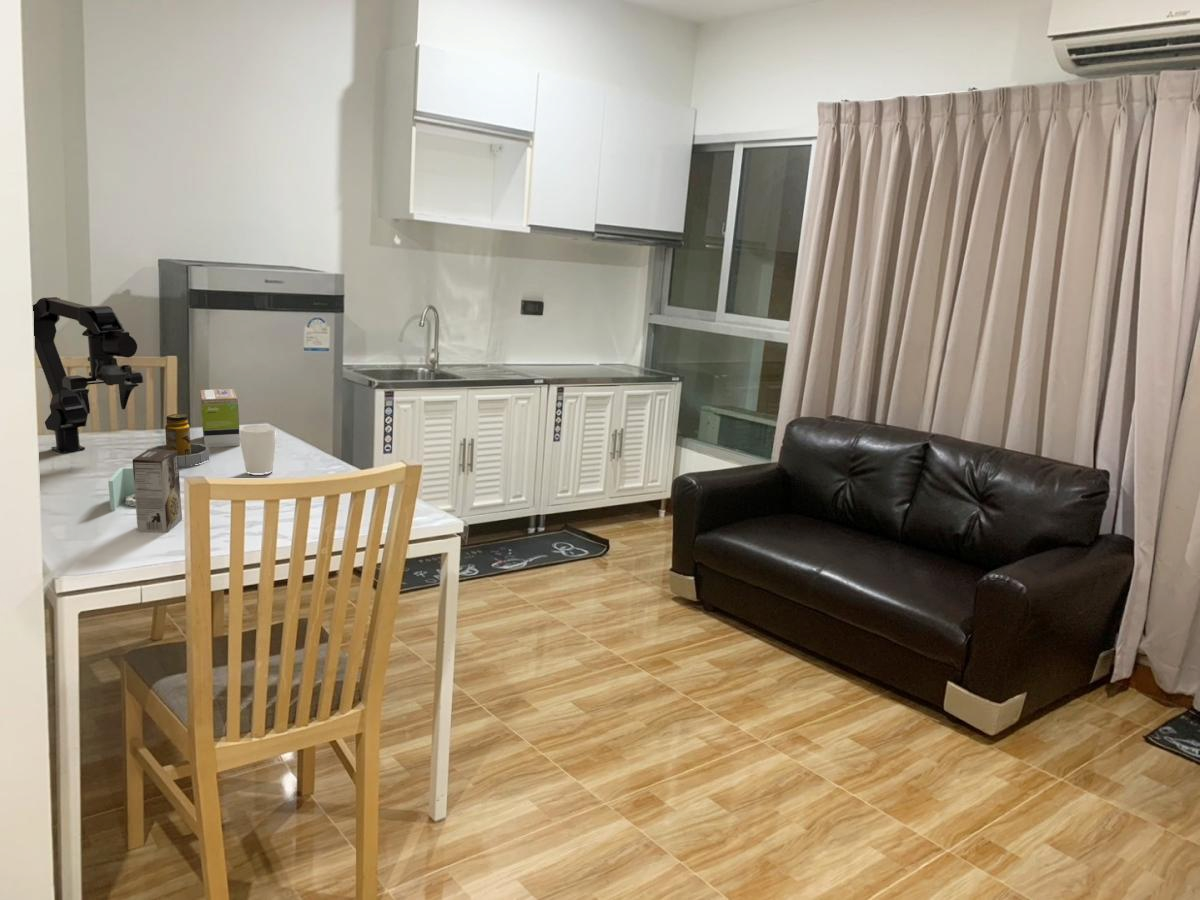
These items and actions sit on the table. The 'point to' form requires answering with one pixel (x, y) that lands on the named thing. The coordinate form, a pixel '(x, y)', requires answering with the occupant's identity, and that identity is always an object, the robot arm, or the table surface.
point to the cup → (258, 447)
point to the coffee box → (157, 490)
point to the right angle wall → (122, 488)
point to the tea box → (220, 418)
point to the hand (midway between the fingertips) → (106, 411)
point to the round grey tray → (197, 455)
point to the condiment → (178, 434)
